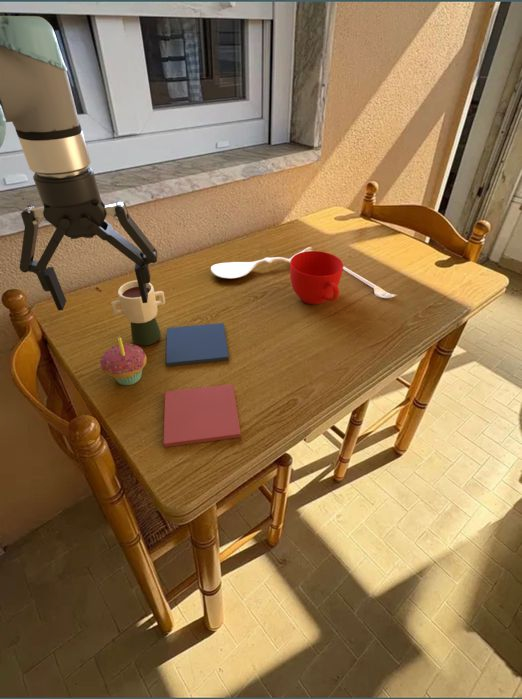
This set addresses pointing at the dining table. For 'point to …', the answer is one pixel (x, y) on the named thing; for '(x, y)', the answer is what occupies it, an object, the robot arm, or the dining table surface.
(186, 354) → the blue mat
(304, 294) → the ceramic cup
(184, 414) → the rose mat
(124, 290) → the character mug
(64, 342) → the dining table surface
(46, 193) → the robot arm
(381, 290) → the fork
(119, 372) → the cupcake
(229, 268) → the spoon
